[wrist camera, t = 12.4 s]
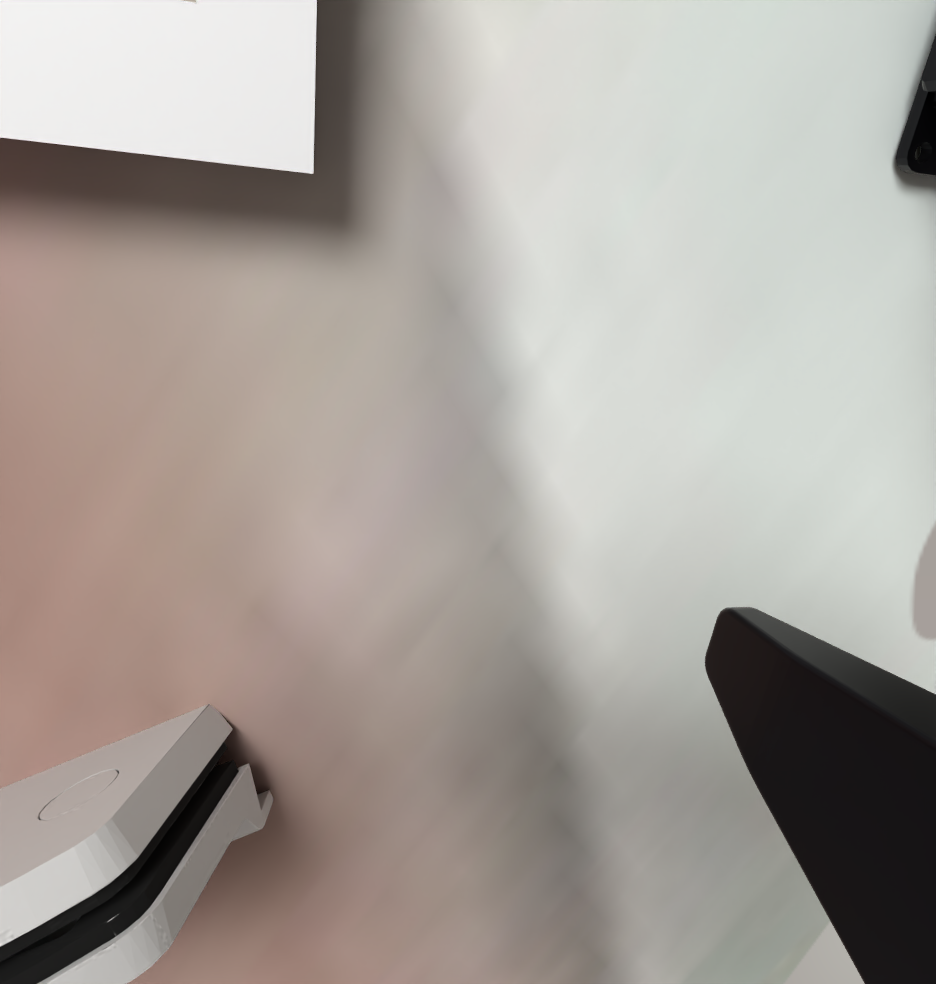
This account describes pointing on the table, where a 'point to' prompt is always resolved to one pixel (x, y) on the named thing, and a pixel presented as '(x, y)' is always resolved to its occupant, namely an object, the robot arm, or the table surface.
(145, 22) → the socket plate
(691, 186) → the table surface
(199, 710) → the white curved block
